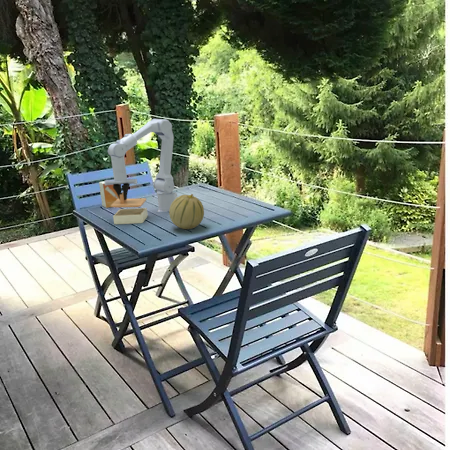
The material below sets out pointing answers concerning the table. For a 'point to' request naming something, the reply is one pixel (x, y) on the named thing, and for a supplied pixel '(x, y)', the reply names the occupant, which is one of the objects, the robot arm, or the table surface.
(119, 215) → the tub
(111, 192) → the small box
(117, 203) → the lid
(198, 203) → the cantaloupe
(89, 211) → the table surface
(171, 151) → the robot arm
